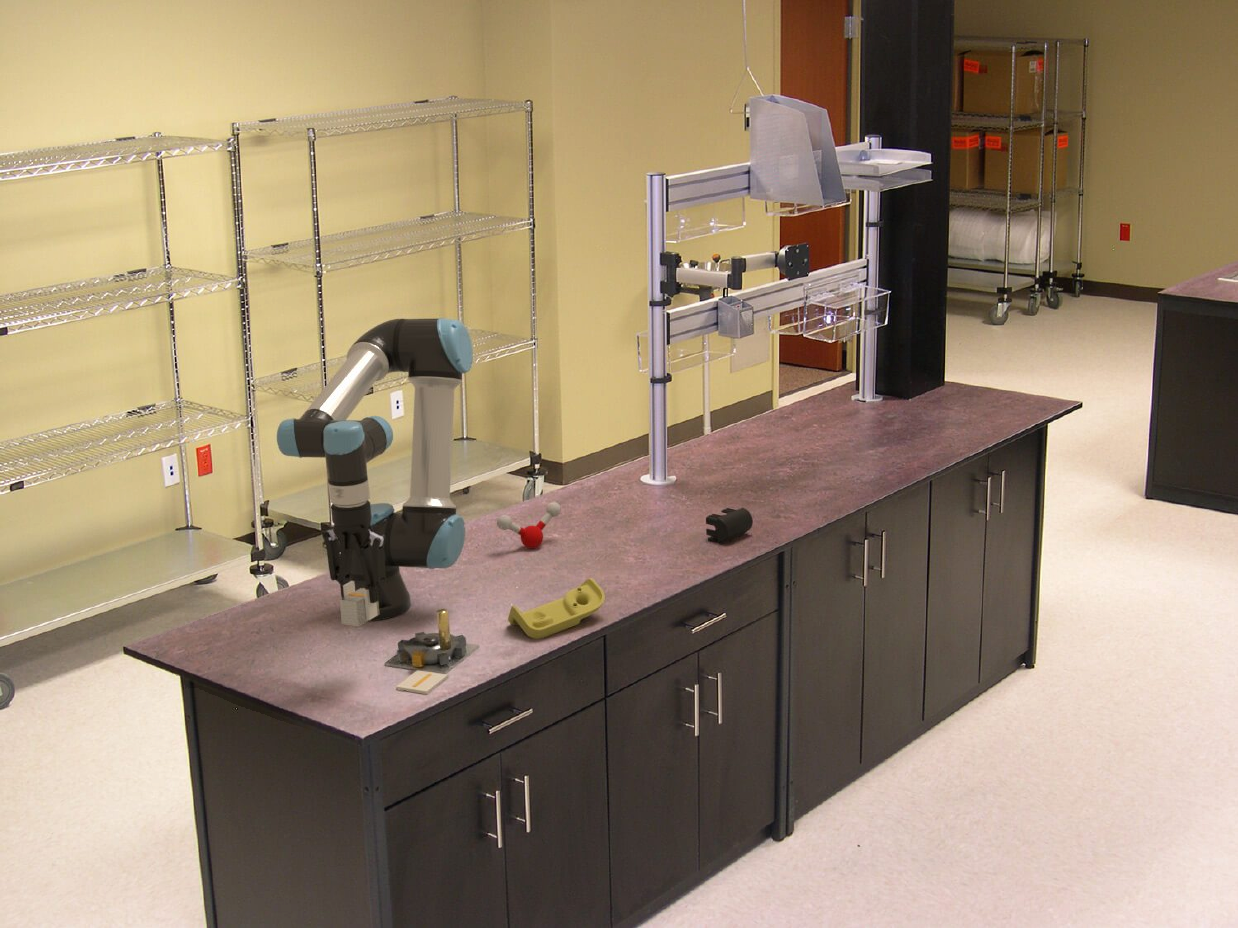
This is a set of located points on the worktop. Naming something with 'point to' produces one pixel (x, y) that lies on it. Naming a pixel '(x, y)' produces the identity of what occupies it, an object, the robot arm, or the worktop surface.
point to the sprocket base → (435, 666)
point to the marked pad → (422, 682)
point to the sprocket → (433, 645)
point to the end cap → (728, 524)
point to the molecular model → (530, 534)
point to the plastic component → (560, 611)
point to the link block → (354, 608)
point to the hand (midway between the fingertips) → (361, 615)
